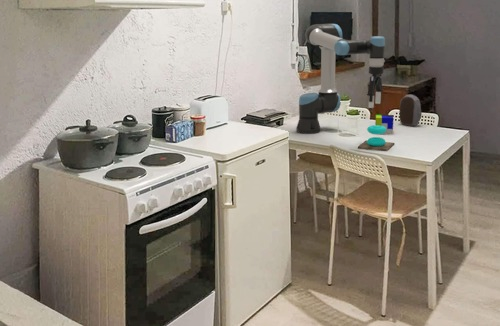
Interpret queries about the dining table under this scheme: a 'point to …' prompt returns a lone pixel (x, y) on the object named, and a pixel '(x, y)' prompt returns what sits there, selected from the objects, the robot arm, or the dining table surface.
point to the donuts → (376, 140)
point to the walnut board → (381, 148)
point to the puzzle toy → (385, 122)
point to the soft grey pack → (410, 110)
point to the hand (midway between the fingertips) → (374, 105)
